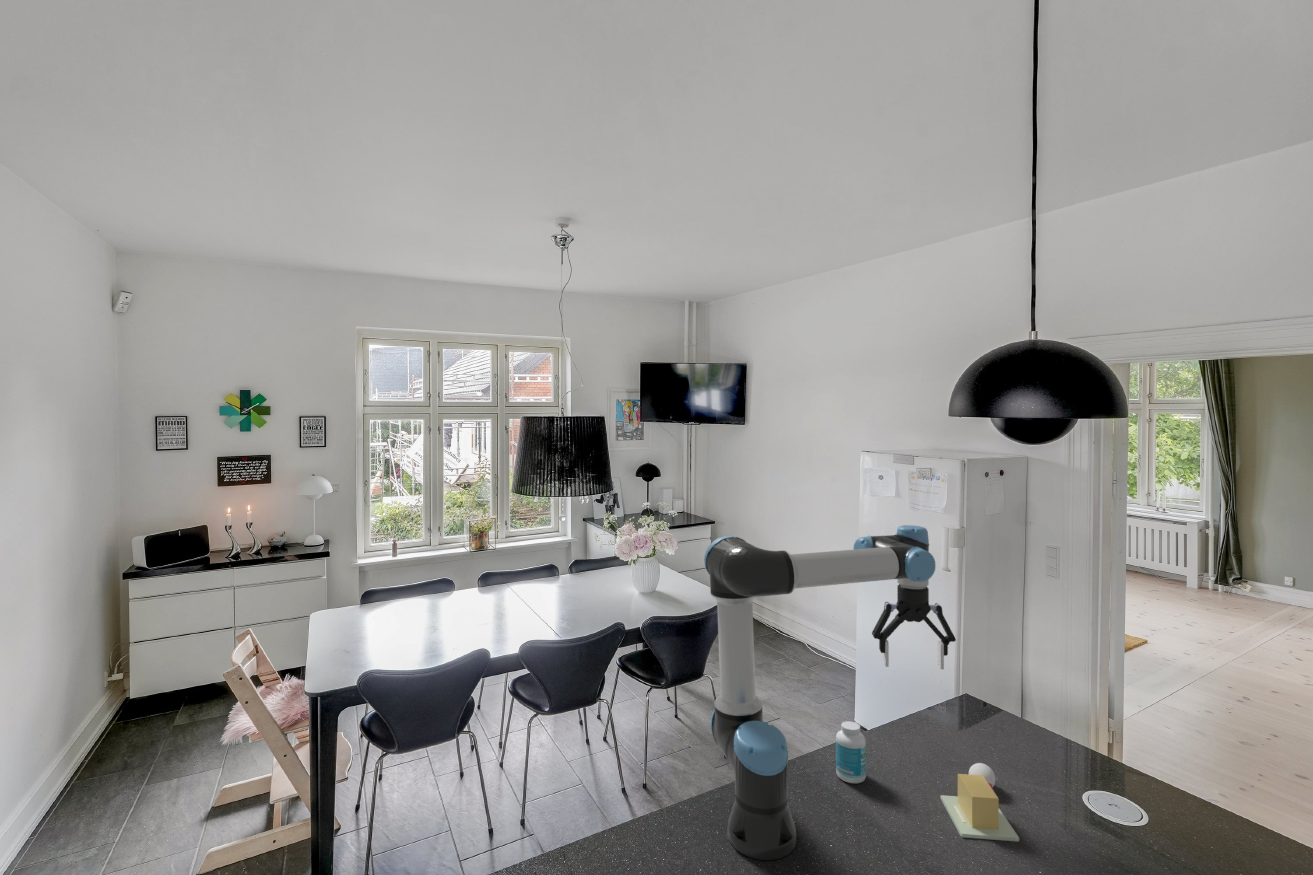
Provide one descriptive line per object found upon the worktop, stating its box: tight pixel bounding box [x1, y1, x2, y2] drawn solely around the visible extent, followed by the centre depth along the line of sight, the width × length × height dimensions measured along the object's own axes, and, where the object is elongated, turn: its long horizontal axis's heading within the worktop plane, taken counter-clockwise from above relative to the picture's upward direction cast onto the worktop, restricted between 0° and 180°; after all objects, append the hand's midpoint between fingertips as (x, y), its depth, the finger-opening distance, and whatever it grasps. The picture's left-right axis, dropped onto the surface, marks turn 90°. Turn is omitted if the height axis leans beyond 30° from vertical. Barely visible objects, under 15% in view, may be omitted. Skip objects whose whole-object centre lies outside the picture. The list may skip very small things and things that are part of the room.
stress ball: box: [968, 762, 996, 792], centre depth 152 cm, size 8×8×7 cm
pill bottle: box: [835, 720, 867, 784], centre depth 157 cm, size 8×7×14 cm
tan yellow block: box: [957, 773, 1000, 829], centre depth 140 cm, size 6×9×7 cm, turn 172°
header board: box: [940, 794, 1020, 842], centre depth 140 cm, size 12×14×5 cm
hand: (913, 666), depth 158 cm, fingers open, 13 cm apart
